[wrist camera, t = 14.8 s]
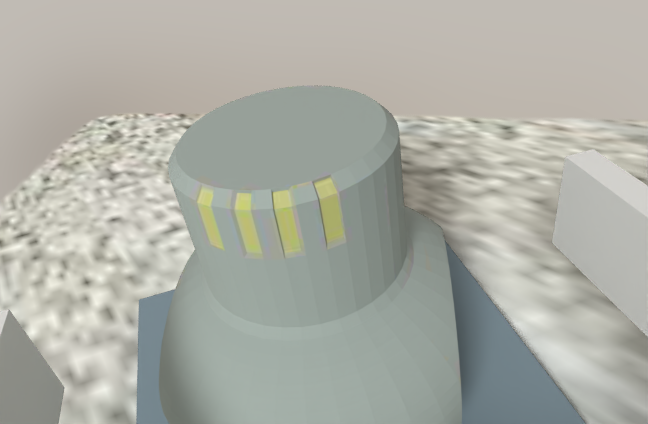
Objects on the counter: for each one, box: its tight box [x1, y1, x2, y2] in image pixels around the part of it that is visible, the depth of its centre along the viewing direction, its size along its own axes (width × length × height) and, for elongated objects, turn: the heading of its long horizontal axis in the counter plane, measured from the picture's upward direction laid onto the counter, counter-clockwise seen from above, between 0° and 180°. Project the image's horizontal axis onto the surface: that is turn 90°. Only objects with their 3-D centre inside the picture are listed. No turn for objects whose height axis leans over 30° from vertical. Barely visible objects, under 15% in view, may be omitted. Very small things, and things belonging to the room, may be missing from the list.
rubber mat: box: [137, 241, 586, 424], centre depth 19 cm, size 14×14×1 cm
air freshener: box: [159, 86, 462, 424], centre depth 16 cm, size 11×8×10 cm
